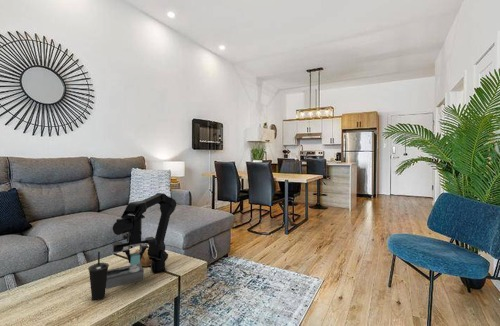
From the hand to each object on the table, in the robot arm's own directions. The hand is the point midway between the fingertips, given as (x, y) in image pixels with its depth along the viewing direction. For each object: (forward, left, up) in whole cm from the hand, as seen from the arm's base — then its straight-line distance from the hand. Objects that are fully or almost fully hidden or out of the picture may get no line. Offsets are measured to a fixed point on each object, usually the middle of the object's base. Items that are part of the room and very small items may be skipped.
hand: (134, 261), depth 120 cm
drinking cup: (+15, +2, -12) cm, 19 cm away
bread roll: (-9, -24, -12) cm, 28 cm away
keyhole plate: (+4, -9, -11) cm, 15 cm away
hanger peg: (0, 0, -4) cm, 4 cm away
